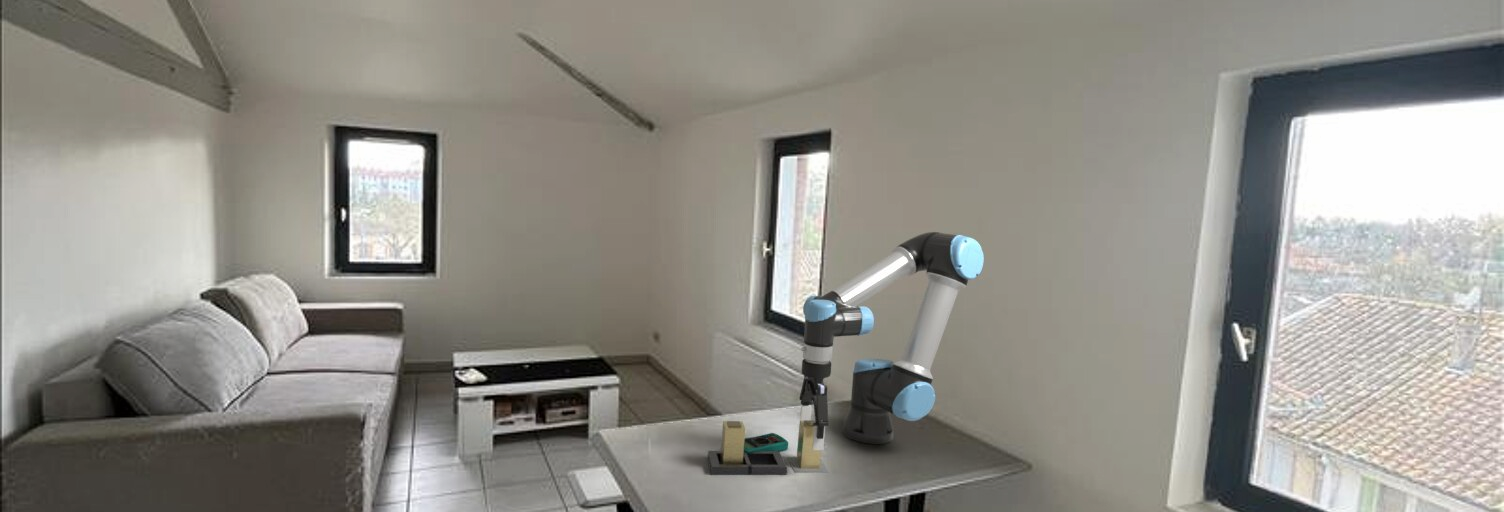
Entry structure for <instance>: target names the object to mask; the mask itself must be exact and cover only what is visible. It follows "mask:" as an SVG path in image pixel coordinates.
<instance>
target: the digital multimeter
mask: <svg viewBox="0 0 1504 512" xmlns="http://www.w3.org/2000/svg"><path fill="white" fill-rule="evenodd" d="M788 449H789V441H787V440H786V439H785V438H784V437H782V436H781V435H779V434H777V433H776V432H775V433H774V432H770V433H765V434H762V435H761V434H760V435H756V436H752V437H747V438H746V437H745V439H744V451H746V452H753V451H779V452H783V451H787V450H788Z"/></svg>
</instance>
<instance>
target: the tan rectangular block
mask: <svg viewBox="0 0 1504 512" xmlns="http://www.w3.org/2000/svg"><path fill="white" fill-rule="evenodd" d="M813 423H816V422H815V420H812V419H811V420H804V421H800V420H799V424H798V425H799V426H798V438H797V448H796V449H797V450H796V457H797V459H796V461H797V463H798V464H799V466H800V468H801V469H819V468H820V459H821V455H822V450H813V449H812V446H813V433H814V426H813Z"/></svg>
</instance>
